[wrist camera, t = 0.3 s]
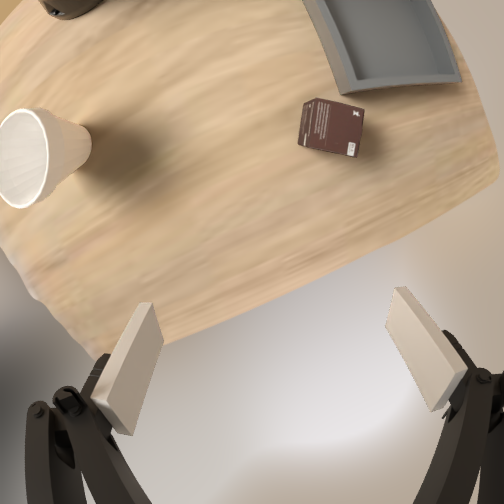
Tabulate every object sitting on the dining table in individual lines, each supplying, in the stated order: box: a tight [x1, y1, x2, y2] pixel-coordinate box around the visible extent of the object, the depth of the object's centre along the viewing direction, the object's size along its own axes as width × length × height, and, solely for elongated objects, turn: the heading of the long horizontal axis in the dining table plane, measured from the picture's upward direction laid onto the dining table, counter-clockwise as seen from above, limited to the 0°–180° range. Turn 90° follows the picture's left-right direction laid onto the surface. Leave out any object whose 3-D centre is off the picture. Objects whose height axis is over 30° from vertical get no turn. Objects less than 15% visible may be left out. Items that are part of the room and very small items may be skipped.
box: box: [298, 98, 364, 158], centre depth 30 cm, size 6×6×7 cm
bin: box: [302, 0, 462, 95], centre depth 24 cm, size 20×20×5 cm
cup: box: [0, 108, 92, 209], centre depth 27 cm, size 12×12×14 cm
